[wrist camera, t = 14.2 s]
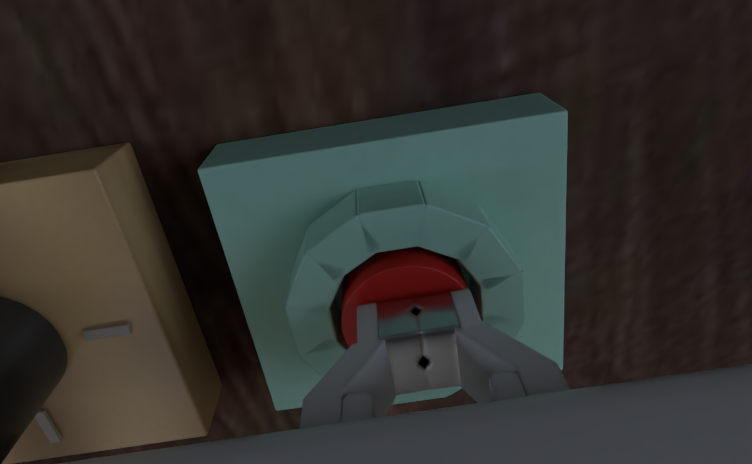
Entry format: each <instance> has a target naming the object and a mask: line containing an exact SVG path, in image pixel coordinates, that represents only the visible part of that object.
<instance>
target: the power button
mask: <svg viewBox="0 0 752 464" xmlns="http://www.w3.org/2000/svg"><path fill="white" fill-rule="evenodd" d="M462 289H467V286H466V283H465V280H464V277H463V275H462V272H461V269H460V267H459V265H458V263H457V261H456V259H454V258H451V257H448V256H445V255H442V254H439V253H436V252H433V251H430V250H427V249H424V248H421V247H411V248H405V249H398V250H392V251H385V252H379V253H375V254H374V255H373V256H371V257H370V258H368V259H367V260H366V261H364V262H363V263H361V264H360V265H359V266H357V267H356V268H354V269H353V270H352V271H350V272H349V273H347V274H346V275H345V276H344V280H343V288H342V332H343V335H344V339H345V341H346V343H347V345H348V346H349V347H350V346H351V345H352V344H354V343H357V307H358V305H363V304H370V303H377V302H384V301H392V300H400V299H407V298H417V297H423V296H429V295H435V294H441V293H447V292H451V291H456V290H462Z"/></svg>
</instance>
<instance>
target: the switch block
mask: <svg viewBox="0 0 752 464" xmlns="http://www.w3.org/2000/svg"><path fill="white" fill-rule="evenodd" d="M567 124H568V112H567V110H565V109H564V108H562V107H561V106H559V105H558V104H556V103H555V102H553V101H552V100H550V99H549V98H547V97H546V96H544V95H543V94H541V93H533V94H527V95H521V96H515V97H508V98H502V99H496V100H490V101H484V102H477V103H471V104H465V105H459V106H452V107H446V108H440V109H434V110H427V111H421V112H415V113H409V114H402V115H396V116H390V117H384V118H378V119H371V120H365V121H359V122H353V123H346V124H340V125H334V126H328V127H321V128H315V129H309V130H303V131H297V132H290V133H284V134H278V135H272V136H265V137H259V138H253V139H247V140H240V141H234V142H228V143H222V144H217V145H216V146H215V147H214V149H213V150H212V151H211V153H210V154H209V155H208V157H207V158H206V159H205V160H204V162H203V163H202V164H201V166H200V167H199V168H198V174H199V177H200V180H201V183H202V186H203V189H204V192H205V195H206V198H207V202H208V205H209V208H210V211H211V214H212V217H213V220H214V223H215V226H216V229H217V232H218V235H219V238H220V241H221V244H222V247H223V250H224V253H225V257H226V260H227V263H228V266H229V269H230V272H231V275H232V278H233V281H234V284H235V287H236V290H237V293H238V296H239V299H240V302H241V305H242V308H243V312H244V315H245V318H246V321H247V324H248V327H249V330H250V333H251V336H252V339H253V342H254V345H255V348H256V351H257V354H258V357H259V360H260V363H261V367H262V370H263V373H264V376H265V379H266V382H267V385H268V388H269V391H270V394H271V397H272V400H273V403H274V406H275V409H276V410H277V411H279V410H286V409H293V408H299V407H302V405H303V399H304V398H305V397H306V396H307V394H308V393H309V392H310V391H311V390H312V389H313V388H314V387H315V385H316V384H317V383H318V382H319V381H320V380H321V379H322V377H323V376H324V375H325V374H326V373H327V372H328V371H329V370H330V368H331V367H332V366H333V365H334V364H335V363H336V362H337V361H338V359H339V358H340V357H341V356H342V355H343V354H344V353H345V352H346V350H347V349H348V348H349V346H348V345H347V343H346V341H345V339H344V335H343V332H342V288H343V280H344V276H345V275H346V274H347V273H349V272H350V271H352V270H353V269H354V268H356V267H357V266H359V265H360V264H361V263H363V262H364V261H366V260H367V259H368V258H370V257H371V256H373V255H374V254H375V253H379V252H385V251H392V250H398V249H405V248H411V247H421V248H424V249H427V250H430V251H433V252H436V253H439V254H442V255H445V256H448V257H451V258H454V259H456V261H457V263H458V265H459V267H460V269H461V272H462V275H463V277H464V280H465V283H466V286H467V288H468V289H469V290H470V291H471V294H472V297H473V299H474V302H475V305H476V308H477V310H478V313H479V316H480V318H481V321H482V324H490V325H491V326H493V327H495V328H497V329H498V330H500V331H502V332H504V333H505V334H507V335H509V336H511V337H512V338H514V339H516V340H518V341H519V342H521V343H523V344H525V345H526V346H528V347H530V348H532V349H533V350H535V351H537V352H539V353H540V354H542V355H544V356H546V357H547V358H549V359H551V360H553V361H554V362H556V363H557V364H558V366H559V368H560V370H562V369H563V334H564V282H565V229H566V177H567ZM459 389H461V386H458V387H449V388H441V389H432V390H425V391H419V392H413V393H408V394H402V395H396V398H395V400H394V401H393V403H392V404H400V403H407V402H414V401H421V400H428V399H435V398H442V397H447V396H448V395H451V394H453V393H454V392H456V391H458V390H459Z"/></svg>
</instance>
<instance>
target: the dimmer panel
mask: <svg viewBox="0 0 752 464" xmlns="http://www.w3.org/2000/svg"><path fill="white" fill-rule="evenodd" d="M0 296H1V297H5V298H9V299H12V300H15V301H17V302H20V303H22V304H24V305H26V306H28V307H30V308H31V309H33V310H35V311H36V312H38V313H39V314H40V315H42V316H43V317H44V318H45V319H47V320H48V321H49V322H50V323H51V324H52V325H53V327H54V328H55V329H56V330H57V332H58V333H59V334H60V336H61V338H62V340H63V342H64V344H65V347H66V351H67V367H66V371H65V373H64V376H63V377H62V379H61V380H60V382H59V383H58V385H57V386H56V387H55V389H54V390H53V392H52V393H51V395H50V396H49V397H48V399H47V400H46V402H45V403H44V404H43V406H42V407H41V409H40V410H39V411H38V413H37V414H36V416H35V417H34V419H33V420H32V421H31V423H30V424H29V426H28V427H27V428H26V430H25V431H24V433H23V434H22V436H21V437H20V438H19V440H18V441H17V443H16V444H15V445H14V447H13V448H12V450H11V451H10V453H9V454H8V455H7V457H6V458H5V460H4V461H3V462H2V464H13V463H20V462H27V461H34V460H41V459H48V458H55V457H62V456H69V455H76V454H83V453H90V452H97V451H104V450H111V449H118V448H125V447H132V446H139V445H146V444H153V443H160V442H167V441H174V440H181V439H188V438H195V437H202V436H206V435H207V434H208V431H209V428H210V425H211V421H212V418H213V415H214V412H215V409H216V405H217V402H218V399H219V396H220V392H221V389H222V383H221V380H220V377H219V375H218V372H217V369H216V367H215V364H214V362H213V359H212V356H211V354H210V351H209V348H208V346H207V343H206V341H205V338H204V335H203V333H202V330H201V327H200V325H199V322H198V319H197V317H196V314H195V312H194V309H193V306H192V304H191V301H190V298H189V296H188V293H187V291H186V288H185V285H184V283H183V280H182V277H181V275H180V272H179V270H178V267H177V264H176V262H175V259H174V256H173V254H172V251H171V248H170V246H169V243H168V241H167V238H166V235H165V233H164V230H163V227H162V225H161V222H160V220H159V217H158V214H157V212H156V209H155V206H154V204H153V201H152V199H151V196H150V193H149V191H148V188H147V185H146V183H145V180H144V177H143V175H142V172H141V170H140V167H139V164H138V162H137V159H136V156H135V154H134V151H133V149H132V146H131V144H130V143H129V142H126V143H119V144H113V145H107V146H101V147H95V148H88V149H82V150H76V151H70V152H64V153H57V154H51V155H45V156H39V157H33V158H26V159H20V160H14V161H8V162H2V163H0Z"/></svg>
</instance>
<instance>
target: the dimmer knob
mask: <svg viewBox="0 0 752 464" xmlns="http://www.w3.org/2000/svg"><path fill="white" fill-rule="evenodd" d="M66 367H67V351H66V347H65V344H64V342H63V340H62V338H61V336H60V334H59V333H58V332H57V330H56V329H55V328H54V327H53V325H52V324H51V323H50V322H49V321H48V320H47V319H45V318H44V317H43V316H42V315H40V314H39V313H38V312H36V311H35V310H33V309H31V308H30V307H28V306H26V305H24V304H22V303H20V302H17V301H15V300H12V299H9V298H5V297H1V296H0V464H2V462H3V461H4V460H5V458H6V457H7V455H8V454H9V453H10V451H11V450H12V448H13V447H14V445H15V444H16V443H17V441H18V440H19V438H20V437H21V436H22V434H23V433H24V431H25V430H26V428H27V427H28V426H29V424H30V423H31V421H32V420H33V419H34V417H35V416H36V414H37V413H38V411H39V410H40V409H41V407H42V406H43V404H44V403H45V402H46V400H47V399H48V397H49V396H50V395H51V393H52V392H53V390H54V389H55V387H56V386H57V385H58V383H59V382H60V380H61V379H62V377H63V376H64V373H65V371H66Z"/></svg>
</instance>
